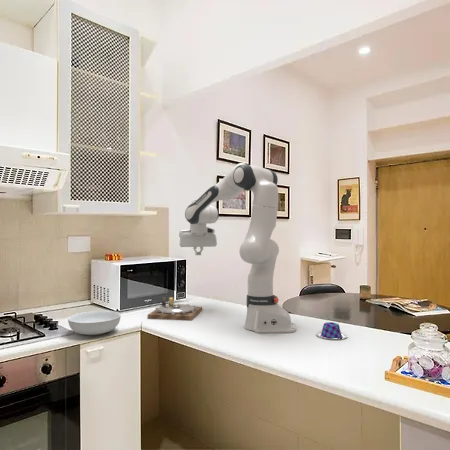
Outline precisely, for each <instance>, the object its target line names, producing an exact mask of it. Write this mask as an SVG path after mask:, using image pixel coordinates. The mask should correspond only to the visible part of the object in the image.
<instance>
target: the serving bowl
mask: <svg viewBox="0 0 450 450" xmlns="http://www.w3.org/2000/svg"><path fill="white" fill-rule="evenodd" d="M67 320H68V326H69V328H70V329H71V330H72V331H73V332H75V333H77V334H80V335H84V336H85V335H86V336H99V335H102V334H105V333H106V334H107V333H108V332H111V331H113V330H114V329H115V328H116V327H117V326H118V325H119V323H120V321H121V313H120V312H117V311H114V310H113V311H112V310H90V311H85V312H79V313H75V314H73V315H70V316H69V317H68V318H67Z"/></svg>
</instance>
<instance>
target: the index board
mask: <svg viewBox="0 0 450 450" xmlns="http://www.w3.org/2000/svg"><path fill="white" fill-rule="evenodd" d="M166 298H167V297H166V296H162V297H161V306H165V305H167V303H166V302H167V301H166V300H167V299H166ZM196 307H197V310H194V312H189V313H185V314H174V315H172V314H162V313H160V312H158V313H157V312H156V309H155V310H153V311H151V312H149V313H148V314H147V319H148V320H149V319H150V320H168V321H169V320H171V321H193V320H194V319H195V318H196V317H197V316H198V315H199V314H200V313H201V312H202V311H203V306H196Z"/></svg>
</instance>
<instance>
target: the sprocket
mask: <svg viewBox="0 0 450 450" xmlns="http://www.w3.org/2000/svg"><path fill="white" fill-rule="evenodd" d="M174 300H175V299H174V297H173V296H170V297H168V304H166V305H165V306H162V305H159V307H155V310H156V312H157V313H158V312H160V313H162V314H172V315H174V314H185V313H189V312H194V310H197V307H198V306H196V305H191V304H190V303H187V304H184V303H183V304H181V303H175V301H174ZM174 303H175V304H174Z"/></svg>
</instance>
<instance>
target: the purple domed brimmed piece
mask: <svg viewBox="0 0 450 450" xmlns="http://www.w3.org/2000/svg"><path fill="white" fill-rule="evenodd" d="M319 334H321V337H320V336H319ZM341 334H343V335H344V336H345V337H344V338H342V339H341V340H343V339H346V338H348V335H347V334H346V333H344V332H342V331H341V328H340V325H339V323H336V322H331V321H328V322H324V323H323V326H322V330H321V331H318V332H316V333H315V335H316V336H317V337H319V338H322V337H323V338H324V337H326V338H324V339H326V340H328V338H339V339H340V338H341V337H342V335H341ZM323 338H322V339H323ZM333 340H336V341H337V340H338V339H333Z"/></svg>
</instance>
